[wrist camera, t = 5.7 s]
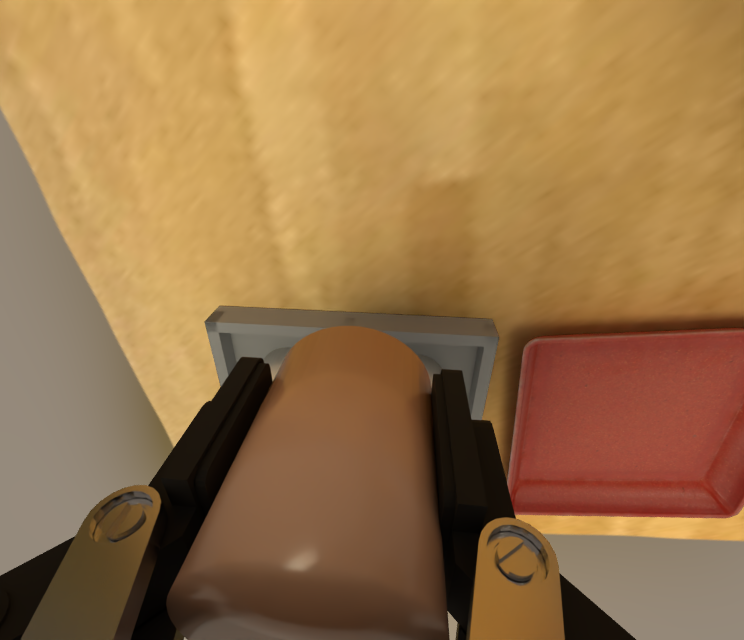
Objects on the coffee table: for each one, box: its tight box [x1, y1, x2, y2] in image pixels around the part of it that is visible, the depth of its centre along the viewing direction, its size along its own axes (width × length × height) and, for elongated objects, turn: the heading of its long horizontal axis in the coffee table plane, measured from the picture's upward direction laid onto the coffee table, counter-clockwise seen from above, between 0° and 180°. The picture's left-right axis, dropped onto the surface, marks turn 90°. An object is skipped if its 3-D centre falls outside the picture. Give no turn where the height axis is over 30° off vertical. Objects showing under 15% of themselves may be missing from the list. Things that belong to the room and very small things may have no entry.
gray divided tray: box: [205, 306, 499, 420], centre depth 30 cm, size 19×19×2 cm
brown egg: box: [166, 326, 449, 640], centre depth 9 cm, size 5×5×6 cm
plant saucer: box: [507, 328, 744, 518], centre depth 28 cm, size 18×18×3 cm
